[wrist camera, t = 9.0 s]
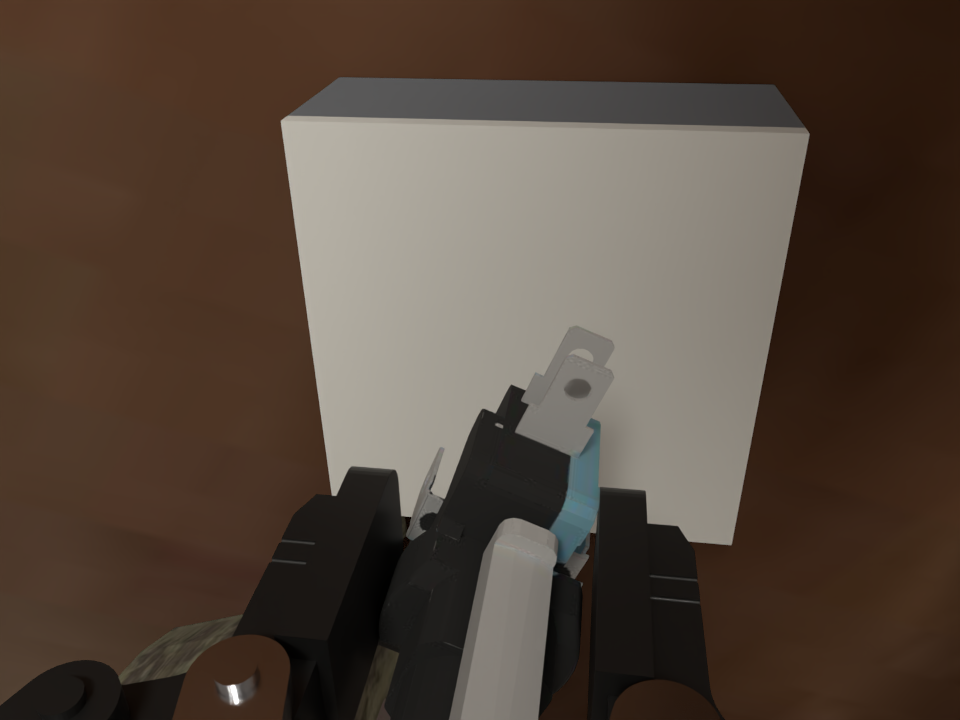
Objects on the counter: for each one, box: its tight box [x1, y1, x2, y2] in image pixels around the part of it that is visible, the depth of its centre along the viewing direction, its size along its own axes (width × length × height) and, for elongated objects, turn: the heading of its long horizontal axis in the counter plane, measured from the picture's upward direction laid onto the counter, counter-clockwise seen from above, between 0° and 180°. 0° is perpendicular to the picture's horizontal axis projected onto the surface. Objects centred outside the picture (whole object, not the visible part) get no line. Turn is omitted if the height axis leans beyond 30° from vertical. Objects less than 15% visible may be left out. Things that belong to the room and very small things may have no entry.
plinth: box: [281, 77, 810, 545], centre depth 20 cm, size 10×10×4 cm
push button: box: [378, 325, 614, 720], centre depth 11 cm, size 7×5×10 cm
